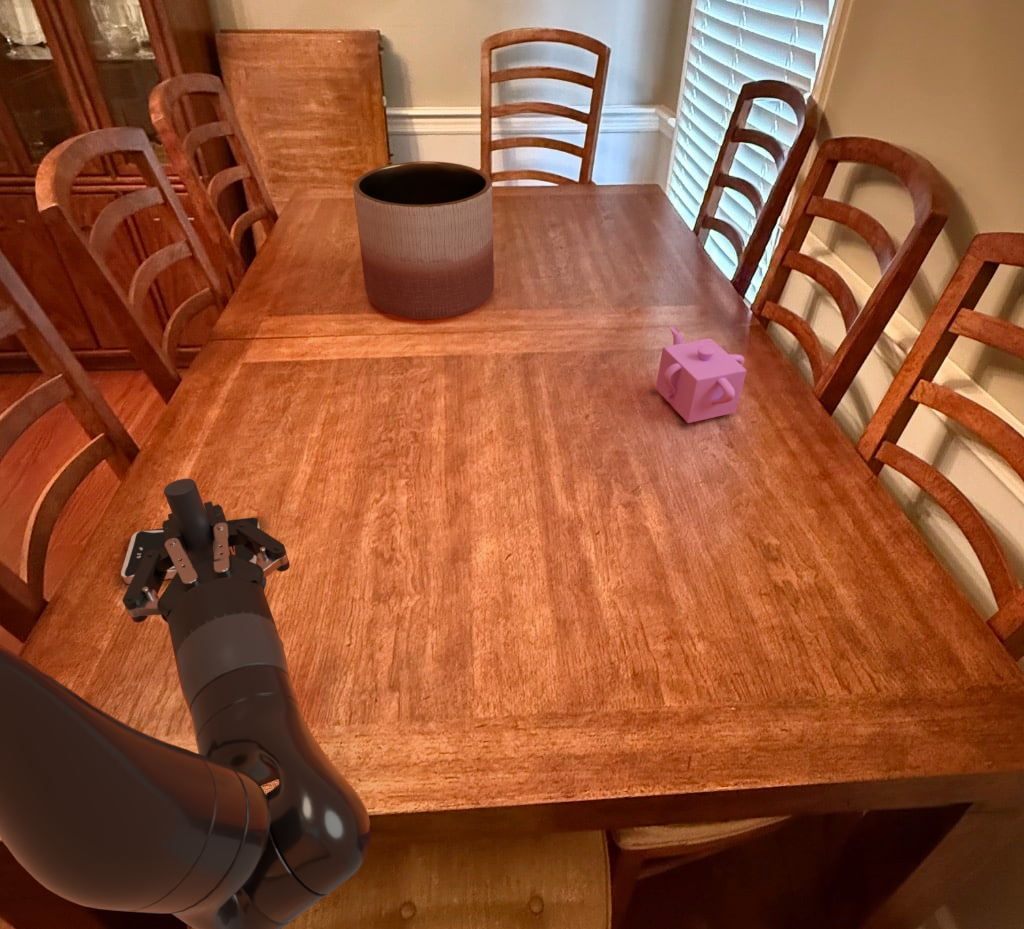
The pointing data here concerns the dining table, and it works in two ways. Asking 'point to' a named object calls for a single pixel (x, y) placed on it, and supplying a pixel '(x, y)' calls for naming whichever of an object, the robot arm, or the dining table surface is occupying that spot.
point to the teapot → (700, 378)
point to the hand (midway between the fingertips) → (192, 514)
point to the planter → (426, 238)
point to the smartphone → (156, 540)
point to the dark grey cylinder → (190, 517)
